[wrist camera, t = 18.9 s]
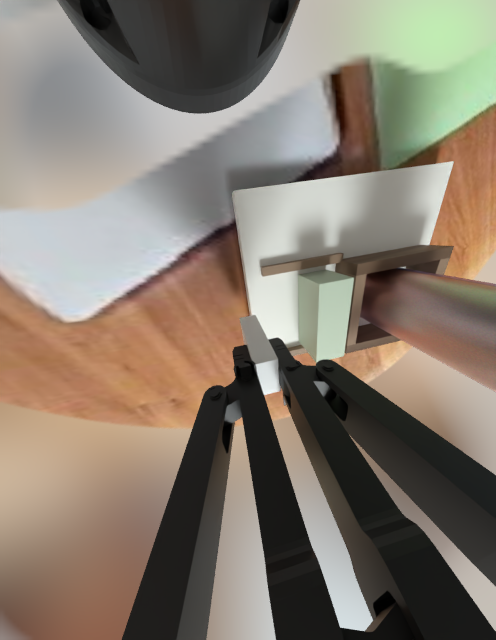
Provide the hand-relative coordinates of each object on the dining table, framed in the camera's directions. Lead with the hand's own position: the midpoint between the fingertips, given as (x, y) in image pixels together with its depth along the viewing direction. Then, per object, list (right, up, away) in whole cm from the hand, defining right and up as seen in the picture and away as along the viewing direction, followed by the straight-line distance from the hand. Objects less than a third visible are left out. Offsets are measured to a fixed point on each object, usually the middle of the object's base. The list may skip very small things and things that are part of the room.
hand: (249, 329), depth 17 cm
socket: (+14, +4, +4) cm, 15 cm away
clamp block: (+7, +2, +3) cm, 8 cm away
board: (+9, +6, +3) cm, 12 cm away
